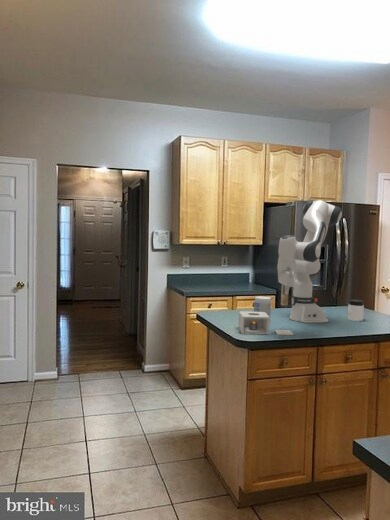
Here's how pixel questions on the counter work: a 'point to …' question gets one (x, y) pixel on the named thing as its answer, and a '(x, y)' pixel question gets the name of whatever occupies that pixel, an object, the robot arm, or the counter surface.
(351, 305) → the jar
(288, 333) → the tile
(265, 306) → the supplement tub
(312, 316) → the robot arm
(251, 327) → the orange ball
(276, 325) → the counter surface
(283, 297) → the rectangular block
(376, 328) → the counter surface
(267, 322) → the box
